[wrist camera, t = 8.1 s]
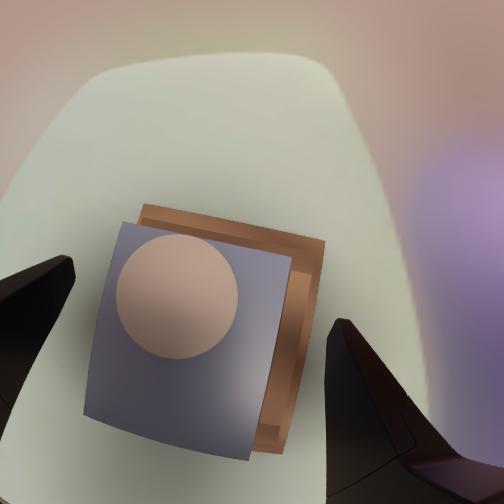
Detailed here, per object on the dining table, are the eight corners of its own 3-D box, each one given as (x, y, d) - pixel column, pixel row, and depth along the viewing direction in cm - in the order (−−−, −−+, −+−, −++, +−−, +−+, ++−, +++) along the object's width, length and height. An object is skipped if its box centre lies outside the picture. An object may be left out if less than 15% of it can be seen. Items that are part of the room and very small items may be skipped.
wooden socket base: (280, 449, 17) (288, 468, 14) (103, 407, 17) (84, 419, 14) (322, 244, 20) (336, 231, 17) (146, 207, 20) (134, 189, 17)
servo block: (236, 407, 17) (243, 529, 5) (155, 388, 16) (50, 469, 5) (264, 272, 18) (316, 188, 7) (183, 255, 18) (114, 151, 7)
